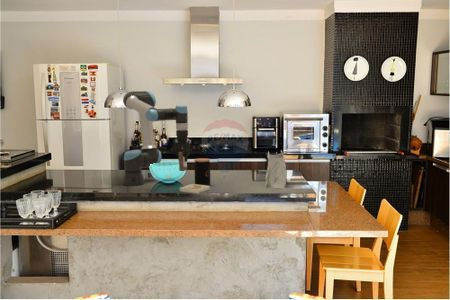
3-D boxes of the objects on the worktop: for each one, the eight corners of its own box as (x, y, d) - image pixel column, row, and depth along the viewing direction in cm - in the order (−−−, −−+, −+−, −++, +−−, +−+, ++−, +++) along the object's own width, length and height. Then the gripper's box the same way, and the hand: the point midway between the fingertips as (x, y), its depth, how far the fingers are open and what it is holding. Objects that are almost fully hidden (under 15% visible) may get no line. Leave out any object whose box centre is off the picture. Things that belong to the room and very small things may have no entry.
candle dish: (179, 191, 284) (179, 187, 284) (192, 187, 296) (192, 183, 295) (197, 194, 277) (197, 189, 276) (209, 189, 288) (209, 185, 288)
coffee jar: (208, 187, 296) (208, 160, 294) (193, 186, 298) (192, 160, 296) (211, 184, 306) (211, 158, 304) (197, 183, 309) (196, 158, 306)
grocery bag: (265, 178, 325) (265, 147, 322) (284, 178, 324) (284, 147, 321) (265, 187, 294) (265, 153, 291) (286, 188, 292) (286, 153, 289)
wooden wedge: (179, 170, 282) (178, 152, 281) (183, 169, 286) (183, 151, 284) (182, 171, 280) (181, 152, 279) (187, 170, 284) (186, 151, 283)
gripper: (168, 129, 281) (169, 166, 284) (188, 130, 273) (189, 168, 275) (176, 129, 288) (177, 164, 290) (195, 129, 279) (196, 166, 282)
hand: (183, 166), depth 283 cm, fingers closed on wooden wedge, 3 cm apart
